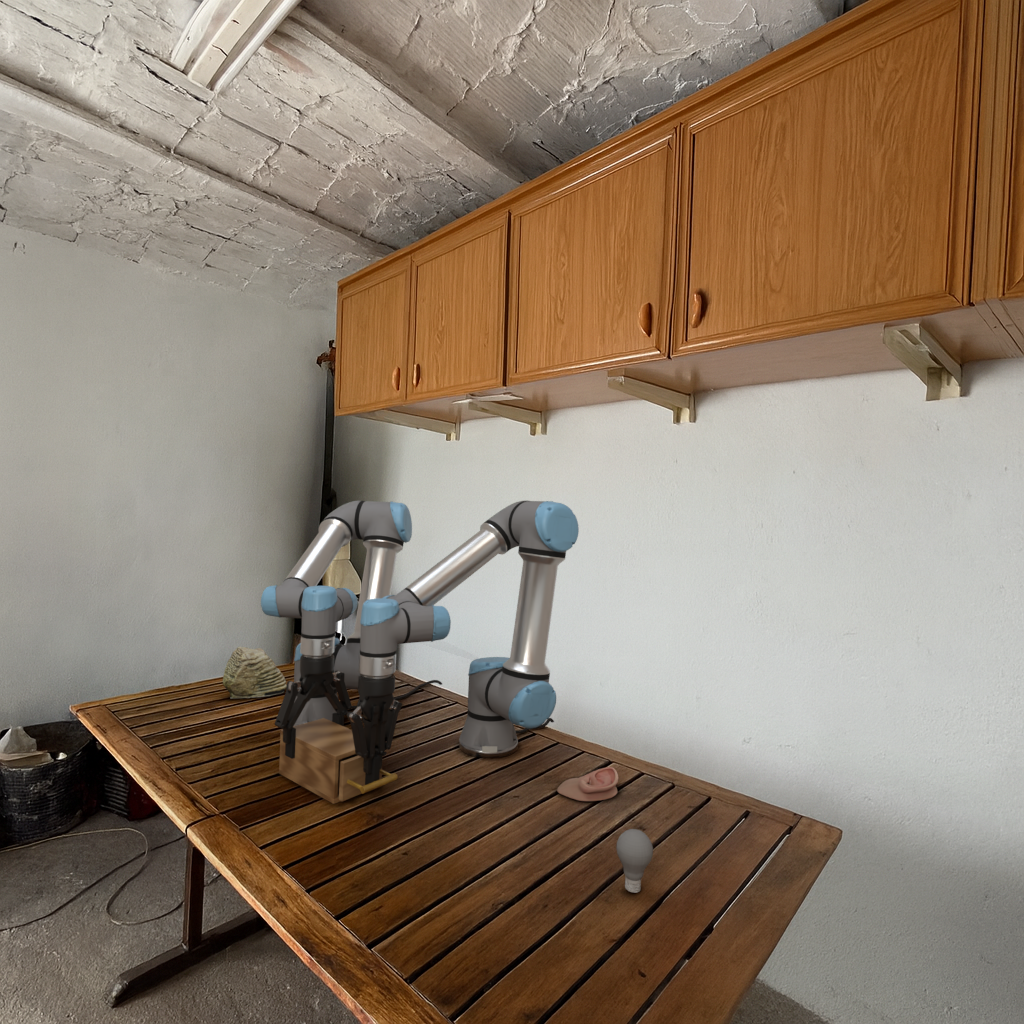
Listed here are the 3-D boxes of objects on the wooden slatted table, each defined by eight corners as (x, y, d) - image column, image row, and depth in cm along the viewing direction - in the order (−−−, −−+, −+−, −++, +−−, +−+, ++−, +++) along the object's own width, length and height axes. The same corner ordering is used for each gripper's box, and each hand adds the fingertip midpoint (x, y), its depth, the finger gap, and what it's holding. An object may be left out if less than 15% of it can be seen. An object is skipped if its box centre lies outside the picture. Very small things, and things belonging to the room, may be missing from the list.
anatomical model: (555, 779, 137) (562, 758, 149) (554, 797, 138) (561, 775, 149) (617, 787, 135) (619, 766, 146) (616, 806, 135) (618, 783, 146)
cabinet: (377, 786, 140) (379, 741, 140) (333, 804, 131) (335, 756, 131) (322, 758, 153) (323, 717, 153) (278, 773, 144) (280, 730, 144)
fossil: (218, 695, 195) (220, 647, 195) (278, 685, 208) (279, 640, 207) (228, 703, 189) (230, 653, 188) (289, 692, 201) (290, 645, 201)
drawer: (399, 794, 134) (401, 757, 134) (360, 811, 126) (362, 772, 126) (328, 759, 150) (329, 726, 150) (289, 772, 142) (290, 737, 142)
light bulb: (610, 879, 108) (613, 822, 108) (644, 879, 109) (647, 822, 109) (619, 902, 102) (622, 840, 102) (655, 901, 103) (658, 840, 103)
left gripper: (279, 667, 133) (275, 769, 134) (369, 649, 152) (366, 739, 152) (260, 660, 138) (256, 759, 138) (350, 643, 156) (346, 731, 157)
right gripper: (363, 684, 124) (357, 803, 125) (412, 672, 134) (407, 782, 135) (339, 675, 129) (334, 790, 129) (389, 665, 139) (384, 771, 139)
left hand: (313, 748), depth 145 cm, fingers closed on cabinet, 11 cm apart
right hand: (371, 786), depth 132 cm, fingers closed
